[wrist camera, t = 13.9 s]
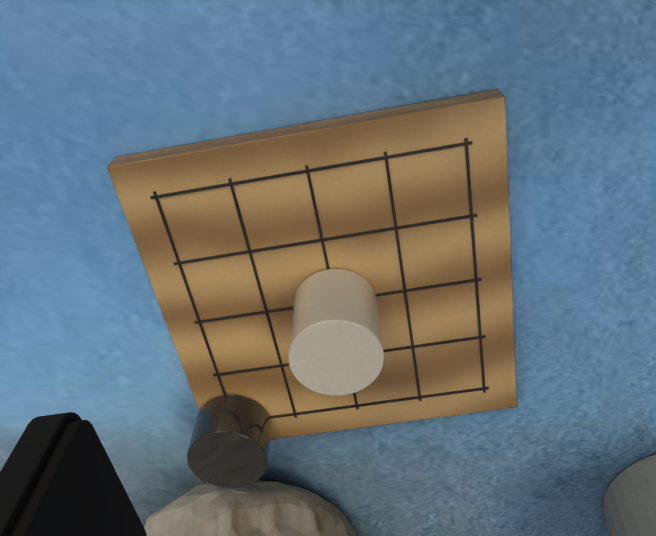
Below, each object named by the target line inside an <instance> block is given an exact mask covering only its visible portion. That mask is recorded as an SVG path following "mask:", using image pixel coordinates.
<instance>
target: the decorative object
mask: <svg viewBox="0 0 656 536" xmlns="http://www.w3.org/2000/svg"><path fill="white" fill-rule="evenodd" d="M603 513H604V517H605V520H606V524H607V527H608V531H609V534H610V536H656V454H655V455H652V456H649V457H647V458H644V459H642V460H640V461H638V462H636V463H634V464H633V465H631V466H629V467H628V468H626V469H625V470H624V471H622V472H621V473H620V474H619V475H618V476H617V477H616V478H615V479H614V480H613V481H612V482H611V484H610V485H609V487H608V489H607V491H606V492H605V496H604V499H603Z"/></svg>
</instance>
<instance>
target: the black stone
mask: <svg viewBox="0 0 656 536" xmlns="http://www.w3.org/2000/svg"><path fill="white" fill-rule="evenodd" d="M270 435H271V419H270V416H269V414H268V412H267V411H266V410H265V408H264V407H263V406H262V405H260V404H259V403H258V402H256V401H254V400H252V399H250V398H247V397H244V396H239V395H224V396H219V397H216V398H213V399H211V400H210V401H208V402H207V403H205V404H204V405H203V406H202V407H201V409H200V410H199V412H198V415H197V419H196V423H195V427H194V430H193V434H192V438H191V442H190V445H189V449H188V453H187V460H188V464H189V467H190V469H191V470H192V472H193V473H194V474H195V475H196V476H197V477H198V478H200V479H201V480H203V481H204V482H206V483H208V484H211V485H214V486H217V487H223V488H238V487H243V486H247V485H249V484H251V483H253V482H255V481H257V480H258V479H259V478H260V477H261V476H262V475H263V473H264V472H265V470H266V467H267V460H268V452H269V443H270Z"/></svg>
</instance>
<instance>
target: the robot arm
mask: <svg viewBox="0 0 656 536" xmlns="http://www.w3.org/2000/svg"><path fill="white" fill-rule="evenodd" d="M0 536H147V534H146V531H145V529H144V527H143V525H142V523H141V521H140V519H139V517H138V515H137V513H136V511H135V509H134V507H133V505H132V503H131V501H130V499H129V497H128V495H127V493H126V491H125V489H124V487H123V485H122V483H121V481H120V479H119V477H118V475H117V473H116V471H115V469H114V467H113V465H112V463H111V461H110V459H109V457H108V455H107V453H106V451H105V449H104V447H103V445H102V443H101V441H100V439H99V437H98V435H97V433H96V431H95V429H94V427H93V426H92V424H91V423H90V422H89V421H88V420H81V418H80V417H79V415H77V414H76V413H72V412H69V413H62V414H55V415H48V416H40V417H36V418H34V419H32V421H31V422H30V423H29V424H28V426H27V427H26V429H25V431H24V433H23V434H22V436H21V438H20V439H19V441H18V443H17V444H16V446H15V448H14V449H13V451H12V453H11V455H10V456H9V458H8V460H7V461H6V463H5V465H4V466H3V468H2V470H1V472H0Z"/></svg>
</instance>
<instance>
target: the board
mask: <svg viewBox="0 0 656 536" xmlns="http://www.w3.org/2000/svg"><path fill="white" fill-rule="evenodd" d="M107 169H108V172H109V174H110V177H111V180H112V182H113V185H114V187H115V190H116V193H117V195H118V198H119V201H120V203H121V206H122V208H123V211H124V214H125V216H126V219H127V222H128V224H129V227H130V229H131V232H132V235H133V237H134V240H135V243H136V245H137V248H138V250H139V253H140V256H141V258H142V261H143V264H144V266H145V269H146V271H147V274H148V277H149V279H150V282H151V285H152V287H153V290H154V292H155V295H156V298H157V300H158V303H159V306H160V308H161V311H162V314H163V316H164V319H165V321H166V324H167V327H168V329H169V332H170V335H171V337H172V340H173V342H174V345H175V348H176V350H177V353H178V356H179V358H180V361H181V363H182V366H183V369H184V371H185V374H186V377H187V379H188V382H189V384H190V387H191V390H192V392H193V395H194V398H195V400H196V403H197V405H198V408H199V410H200V409H201V407H202V406H203V405H204V404H205V403H207V402H208V401H210V400H211V399H213V398H216V397H219V396H224V395H239V396H244V397H247V398H250V399H252V400H254V401H256V402H258V403H259V404H260V405H262V406H263V407H264V408H265V410H266V411H267V412H268V414H269V416H270V419H271V435H270V440H271V439H278V438H286V437H293V436H301V435H309V434H316V433H324V432H332V431H339V430H347V429H354V428H362V427H370V426H377V425H385V424H393V423H400V422H408V421H415V420H423V419H431V418H438V417H446V416H454V415H461V414H469V413H476V412H484V411H492V410H499V409H507V408H514V407H517V392H516V366H515V340H514V314H513V288H512V262H511V236H510V210H509V185H508V159H507V133H506V107H505V96H504V95H503V94H502V93H501V92H500V91H499V90H498V89H494V90H489V91H483V92H478V93H472V94H466V95H461V96H455V97H450V98H444V99H438V100H433V101H427V102H422V103H416V104H410V105H405V106H399V107H394V108H388V109H382V110H377V111H371V112H366V113H360V114H354V115H349V116H343V117H338V118H332V119H326V120H321V121H315V122H310V123H304V124H298V125H293V126H287V127H282V128H276V129H271V130H265V131H259V132H254V133H248V134H243V135H237V136H231V137H226V138H220V139H215V140H209V141H203V142H198V143H192V144H187V145H181V146H175V147H170V148H164V149H159V150H153V151H147V152H142V153H136V154H131V155H125V156H119V157H115V158H114V160H113V161H112V162H111V163H110V164H109V165H108V166H107ZM328 269H343V270H348V271H351V272H354V273H356V274H358V275H360V276H362V277H363V278H364V279H366V280H367V281H368V282H369V283H370V285H371V286H372V287H373V289H374V291H375V293H376V296H377V301H378V309H379V318H380V326H381V334H382V342H383V351H384V363H383V367H382V369H381V372H380V373H379V375H378V377H377V378H376V379H375V380H374V381H373V382H372V383H371V384H370V385H369V386H367V387H366V388H364V389H362V390H360V391H358V392H355V393H352V394H348V395H341V396H331V395H324V394H320V393H317V392H314V391H312V390H310V389H308V388H307V387H305V386H304V385H302V384H301V383H300V382H299V381H298V380H297V379H296V377H295V376H294V375H293V373H292V371H291V369H290V366H289V361H288V354H289V344H290V333H291V322H292V312H293V302H294V296H295V293H296V291H297V289H298V288H299V286H300V285H301V284H302V283H303V281H305V280H306V279H307V278H308V277H310V276H311V275H313V274H315V273H317V272H320V271H323V270H328Z"/></svg>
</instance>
